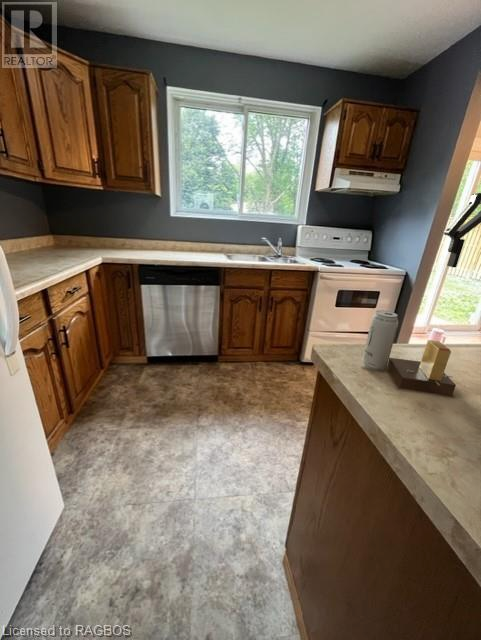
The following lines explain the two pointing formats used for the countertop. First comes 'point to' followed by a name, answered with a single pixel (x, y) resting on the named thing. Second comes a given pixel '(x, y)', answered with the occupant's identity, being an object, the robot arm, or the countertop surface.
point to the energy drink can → (380, 340)
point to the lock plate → (418, 378)
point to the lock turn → (434, 360)
